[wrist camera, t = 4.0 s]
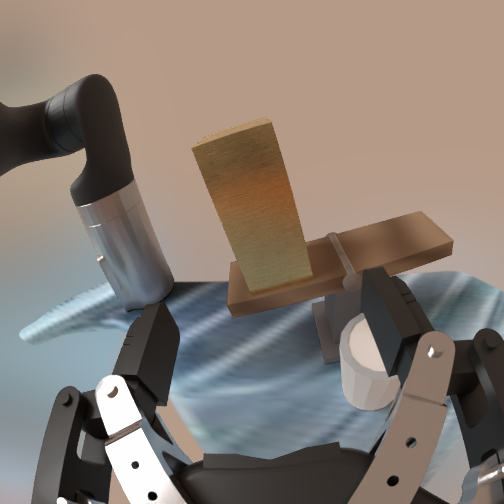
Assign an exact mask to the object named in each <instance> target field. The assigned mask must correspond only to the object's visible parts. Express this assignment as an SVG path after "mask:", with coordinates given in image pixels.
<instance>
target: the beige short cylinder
mask: <svg viewBox="0 0 504 504" xmlns="http://www.w3.org/2000/svg"><path fill="white" fill-rule="evenodd" d="M339 348H340V361H341V377H342V389H343V393H344V396H345V398H346V399H347V401H348V402H349V403H350V404H351V405H352V406H354V407H356V408H358V409H361V410H368V411H375V410H378V409H381V408H384V407H386V406H387V405H388V404H389V403H391V402H392V401H393V400H394V399H395V396H396V394H397V391H398V388H399V386H400V381H399V378H398V375H395V376H391V377H388V375H387V372H386V369H385V367H384V364H383V361H382V359H381V356H380V353H379V351H378V348H377V345H376V343H375V340H374V338H373V335H372V333H371V330H370V328H369V325H368V323H367V321H366V318H365V316H364V313H361V314H359V315H358V316H356V317H355V318H353V319H352V320H350V321H349V322H348V324H347V325H346V327H345V328H344V330H343V331H342V332H341V339H340V345H339Z"/></svg>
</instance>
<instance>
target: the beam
mask: <svg viewBox="0 0 504 504" xmlns="http://www.w3.org/2000/svg"><path fill="white" fill-rule="evenodd" d="M305 244H306V248H307V252H308V257H309V261H310V265H311V270H312V274H313V278H314V280H310V281H306V282H303V283H299V284H295V285H291V286H287V287H283V288H279V289H275V290H272V291H267V292H263V293H259V294H255V295H251V292H250V290H249V288H248V285H247V283H246V281H245V278H244V276H243V274H242V271H241V269H240V266H239V264H238V262H237V261H235V262H231V266H230V277H229V287H228V298H227V307H228V309H229V311H230V312H231V314H232V316H233V318H235V317H240V316H244V315H249V314H253V313H258V312H262V311H266V310H271V309H275V308H279V307H283V306H287V305H291V304H295V303H299V302H303V301H307V300H310V299H314V298H318V297H322V296H325V295H329V294H332V293H336V292H340V291H343V290H346V291H348V292H354V291H356V290H358V289H359V288H360V287H361V286H362V275H363V270H364V269H367V268H372V267H377V266H383V267H384V269H385V270H386V272H387V273H388V275H389V276H392V275H395V274H398V273H401V272H404V271H407V270H410V269H413V268H416V267H419V266H422V265H425V264H428V263H431V262H433V261H436V260H439V259H441V258H444V257H447V256H450V255H452V248H453V240H452V239H451V238H450V237H449V236H448V235H447V234H446V233H445V232H444V231H443V230H442V229H441V228H440V227H438V226H437V225H436V224H435V223H434V222H433V221H432V220H431V219H429V218H428V217H427V216H426V215H425V214H424V213H423V212H421V211H418V212H415V213H411V214H408V215H404V216H400V217H397V218H393V219H389V220H386V221H382V222H379V223H375V224H372V225H368V226H364V227H361V228H357V229H353V230H350V231H346V232H342V233H339V234H337V233H329V234H327V235H326V237H324V238H321V239H317V240H313V241H309V242H305Z"/></svg>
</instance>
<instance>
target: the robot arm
mask: <svg viewBox="0 0 504 504" xmlns="http://www.w3.org/2000/svg"><path fill="white" fill-rule="evenodd" d="M83 148H85V150H86V156H87V161H86V165H85V167H84V169H83V171H82V173H81V174H80V176H79V177H78V178H77V179H76V180H75V181H74V182H73V184H72V185H71V189H70V192H71V196H72V198H73V201H74V203H75V206H76V208H77V210H78V212H79V215H80V217H81V219H82V222H83V224H84V226H85V229H86V231H87V233H88V235H89V237H90V239H91V242H92V244H93V246H94V248H95V250H96V252H97V256H98V257H97V259H98V263H99V265H100V267H101V268H102V270H103V272H104V274H105V276H106V278H107V279H108V281H109V283H110V285H111V287H112V288H113V290H114V292H115V294H116V295H117V297H118V299H119V300H120V302H121V304H122V305H123V307H124V309H125V310H126V311H129V310H131V309H142V308H144V309H143V312H142V314H141V317H137V318H136V320H135V321H134V322H133V323H132V325H131V326H130V328H129V330H128V333H127V335H126V338H125V340H124V343H123V346H122V348H121V351H120V354H119V356H118V359H117V362H116V365H115V368H114V370H113V373H112V375H110V376H107V377H105V378H104V379H102V380H101V382H100V383H99V384H98V386H97V388H96V390H92V391H87V392H84V393H81V392H80V391H78V390H77V389H76V388H75V387H73V386H68V387H65V388H63V389H62V390H61V391H60V392H59V393H58V395H57V397H56V400H55V402H54V405H53V408H52V412H51V415H50V418H49V421H48V425H47V428H46V432H45V436H44V439H43V443H42V447H41V451H40V456H39V460H38V466H37V470H36V476H35V481H34V487H33V494H32V502H31V504H108V501H109V489H110V481H111V472H112V466H113V468H114V470H115V472H116V474H117V477H118V479H119V481H120V483H121V485H122V487H123V489H124V491H125V493H126V495H127V497H128V499H129V500H130V502H131V504H449V503H447V502H446V501H444V500H442V499H440V498H438V497H437V496H435V495H433V494H432V493H430V492H428V491H427V490H425V489H423V488H422V487H420V486H419V485H420V483H421V481H422V479H423V477H424V475H425V472H426V470H427V468H428V466H429V463H430V461H431V458H432V456H433V453H434V450H435V448H436V445H437V442H438V439H439V436H440V434H441V430H442V427H443V424H444V421H445V417H446V414H447V406H446V405H445V398H446V396H448V395H450V397H451V400H452V403H453V406H454V409H455V412H456V415H457V419H458V422H459V425H460V429H461V432H462V436H463V440H464V443H465V448H466V452H467V456H468V461H469V465H470V470H469V472H468V473H467V475H466V476H465V478H464V481H463V484H462V491H463V492H462V496H461V499H460V502H459V503H458V504H504V340H503V339H502V337H501V336H500V334H499V333H497V332H496V331H495V330H492V329H488V328H485V329H481V330H479V331H478V332H477V333H476V335H475V337H474V339H473V340H459V341H452V339H451V338H450V337H449V336H448V335H446V334H444V333H442V332H438V331H435V330H434V329H433V327H432V325H431V323H430V322H429V320H428V318H427V317H426V315H425V313H424V312H423V310H422V308H421V307H420V305H419V303H418V302H416V299H415V297H414V295H413V294H411V291H410V289H409V288H408V286H407V285H406V283H405V282H404V281H402V280H401V279H399V278H398V277H397V276H392V277H389V275H388V273H387V272H386V270H385V269H384V267H383V266H377V267H372V268H367V269H364V270H363V275H362V290H361V306H362V311H363V313H364V316H365V318H366V321H367V323H368V325H369V328H370V330H371V333H372V335H373V338H374V340H375V343H376V345H377V348H378V351H379V353H380V356H381V359H382V361H383V364H384V367H385V369H386V372H387V375H388V377H391V376H395V375H398V378H399V381H400V386H399V388H398V391H397V394H396V396H395V399H394V401H393V403H392V406H391V408H390V411H389V413H388V415H387V417H386V420H385V422H384V424H383V426H382V428H381V430H380V432H379V433H378V435H377V437H376V439H375V441H374V443H373V445H372V447H371V449H370V450H369V452H368V453H367V452H364V451H362V450H357V449H353V448H340V445H339V442H335V443H330V444H325V445H319V446H313V447H307V448H303V449H301V450H298V451H295V452H292V453H290V454H287V455H284V456H281V457H278V458H275V459H270V460H268V459H261V458H255V457H249V456H244V455H239V454H204V458H203V460H202V461H198V462H195V463H193V462H192V461H191V460H190V459H189V457H188V456H187V455H186V454H185V453H184V452H183V451H182V450H181V449H180V448H179V446H178V445H177V444H176V442H175V441H174V439H173V437H172V436H171V434H170V432H169V431H168V429H167V427H166V426H165V424H164V423H163V421H162V419H161V417H160V415H159V414H158V413H157V412H156V411H155V410H156V406H167V401H168V395H169V390H170V385H171V380H172V375H173V370H174V365H175V361H176V356H177V351H178V347H179V342H180V333H179V329H178V326H177V325H176V323H175V321H174V319H173V317H172V315H171V314H170V312H169V310H168V308H167V306H166V304H165V303H163V302H161V303H158V302H159V301H161V300H162V299H163V298H165V297H166V296H167V295H168V294H169V292H170V291H171V289H172V288H173V285H174V278H173V276H172V273H171V270H170V268H169V266H168V264H167V262H166V259H165V257H164V255H163V252H162V250H161V248H160V245H159V242H158V240H157V237H156V235H155V232H154V230H153V227H152V225H151V222H150V219H149V217H148V214H147V211H146V209H145V206H144V203H143V201H142V198H141V195H140V192H139V189H138V186H137V183H136V181H135V179H134V175H133V171H132V167H131V158H130V152H129V148H128V144H127V140H126V136H125V132H124V128H123V123H122V118H121V113H120V108H119V104H118V100H117V97H116V94H115V92H114V89H113V87H112V85H111V84H110V83H109V81H108V80H107V79H106V78H105V77H103V76H102V75H98V74H92V75H88V76H86V77H84V78H82V79H80V80H79V81H77V82H75V83H74V84H72V85H70V86H69V87H67V88H66V89H64V90H62V91H61V92H59V93H58V94H56V95H55V96H53V97H52V98H50V99H48V100H46V101H44V102H41V103H37V104H33V105H28V106H22V107H7V106H5V105H4V104H2V103H1V102H0V176H2V175H3V174H5V173H7V172H8V171H10V170H11V169H13V168H15V167H17V166H20V165H22V164H26V163H29V162H34V161H39V160H44V159H49V158H55V157H62V156H66V155H70V154H72V153H75V152H77V151H79V150H81V149H83ZM81 430H83V431H84V432H86V435H85V440H84V445H83V450H82V455H81V459H80V458H79V457H78V455H77V446H78V441H79V437H80V432H81Z"/></svg>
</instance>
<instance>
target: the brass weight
mask: <svg viewBox="0 0 504 504" xmlns="http://www.w3.org/2000/svg"><path fill="white" fill-rule="evenodd" d="M192 151H193V153H194V156H195V159H196V161H197V163H198V166H199V169H200V171H201V174H202V176H203V179H204V181H205V184H206V186H207V189H208V191H209V194H210V196H211V199H212V201H213V203H214V206H215V208H216V211H217V213H218V216H219V218H220V221H221V223H222V225H223V228H224V230H225V233H226V235H227V238H228V240H229V242H230V245H231V247H232V250H233V252H234V254H235V257H236V259H237V262H238V264H239V266H240V269H241V271H242V274H243V276H244V278H245V281H246V283H247V285H248V288H249V290H250V292H251V295H255V294H259V293H263V292H267V291H272V290H275V289H279V288H283V287H287V286H291V285H295V284H299V283H303V282H306V281H310V280H314V278H313V274H312V270H311V265H310V261H309V257H308V252H307V248H306V244H305V240H304V236H303V232H302V228H301V224H300V220H299V216H298V212H297V209H296V205H295V201H294V197H293V193H292V190H291V186H290V182H289V179H288V176H287V172H286V169H285V165H284V161H283V158H282V155H281V151H280V148H279V145H278V141H277V138H276V135H275V132H274V128H273V125H272V122H271V121H270V120H269V119H268V118H267V117H265V118H261V119H258V120H254V121H251V122H247V123H244V124H241V125H238V126H235V127H231V128H228V129H226V130H222V131H220V132H217V133H214V134H211V135H208V136H205V137H204V138H202V139H201V140H200V141H199V142H198V143H197V144H196V145H195V146H193V147H192Z"/></svg>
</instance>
